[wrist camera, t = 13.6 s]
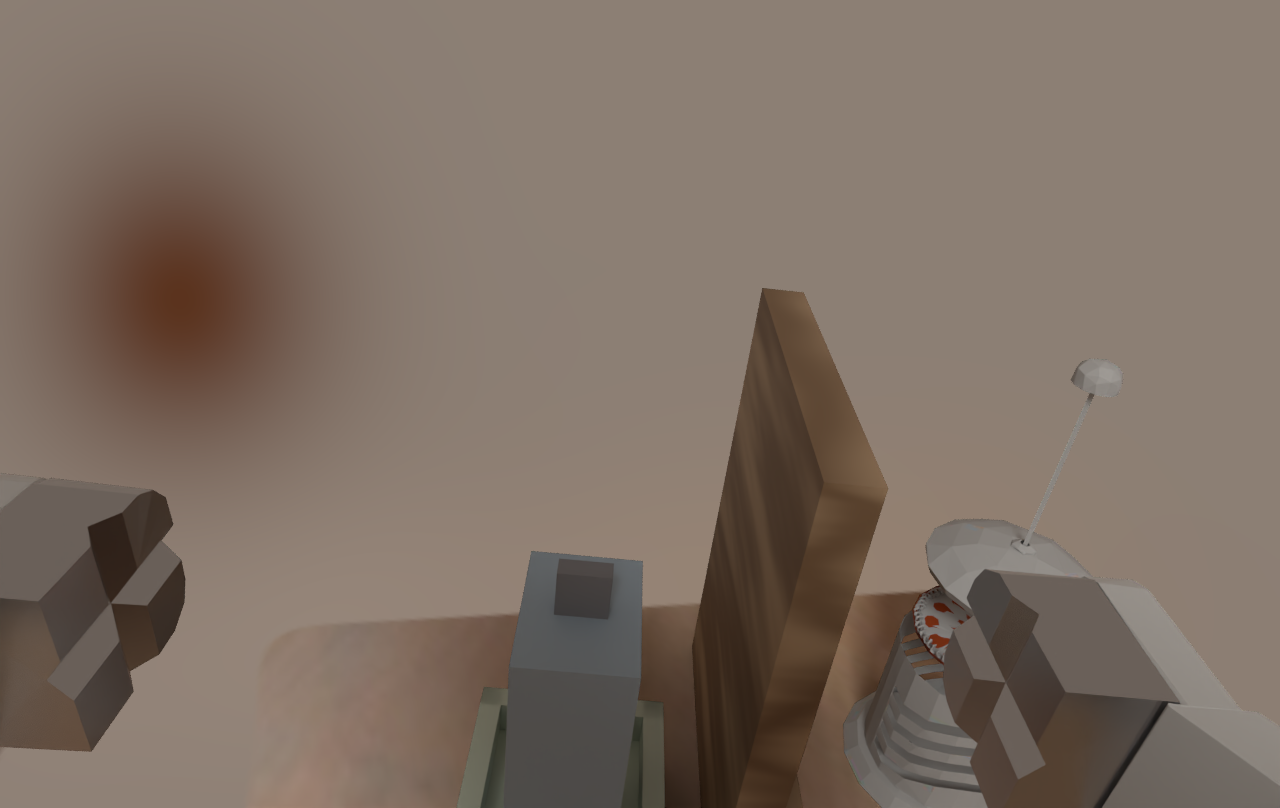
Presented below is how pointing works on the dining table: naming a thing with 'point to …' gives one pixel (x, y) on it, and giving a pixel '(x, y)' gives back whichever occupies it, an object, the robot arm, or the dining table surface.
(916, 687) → the french press
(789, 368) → the wooden flat block
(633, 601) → the grey block with tab
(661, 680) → the dining table surface
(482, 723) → the pale green open box
